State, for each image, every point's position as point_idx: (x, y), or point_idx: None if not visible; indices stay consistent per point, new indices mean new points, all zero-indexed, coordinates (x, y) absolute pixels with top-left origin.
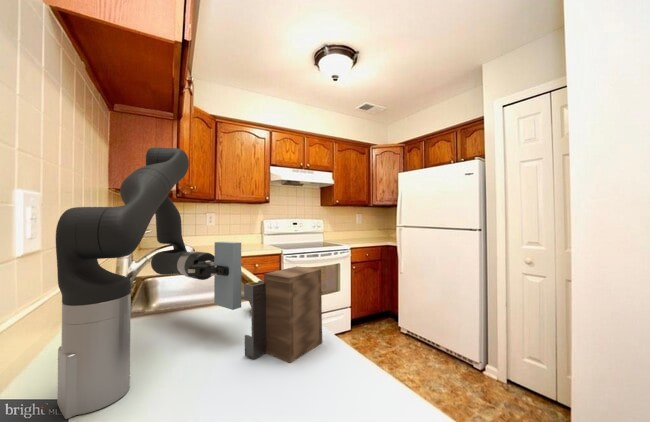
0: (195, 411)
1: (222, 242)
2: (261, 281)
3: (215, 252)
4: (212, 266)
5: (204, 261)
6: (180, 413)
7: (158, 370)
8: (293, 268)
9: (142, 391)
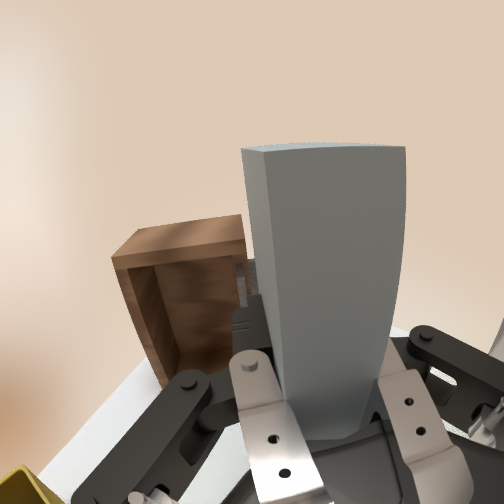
0: (393, 331)
1: (326, 143)
2: (243, 270)
3: (387, 276)
4: (394, 356)
5: (466, 476)
6: (407, 334)
7: (447, 430)
8: (144, 247)
9: (456, 384)
